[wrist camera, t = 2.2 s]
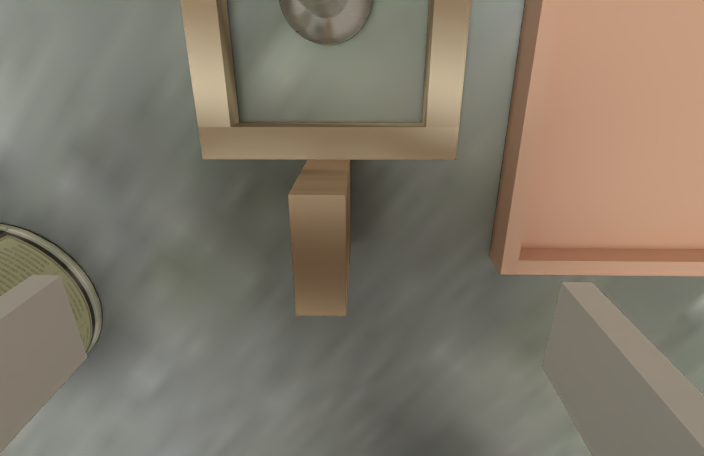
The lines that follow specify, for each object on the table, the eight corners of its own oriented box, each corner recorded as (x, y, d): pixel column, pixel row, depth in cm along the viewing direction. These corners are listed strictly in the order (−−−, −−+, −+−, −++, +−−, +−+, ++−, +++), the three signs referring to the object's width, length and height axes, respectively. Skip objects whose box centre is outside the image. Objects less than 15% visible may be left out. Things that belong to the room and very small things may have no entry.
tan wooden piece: (441, 243, 23) (473, 317, 16) (224, 241, 23) (170, 314, 16) (476, -152, 16) (554, -294, 10) (173, -147, 16) (49, -284, 10)
